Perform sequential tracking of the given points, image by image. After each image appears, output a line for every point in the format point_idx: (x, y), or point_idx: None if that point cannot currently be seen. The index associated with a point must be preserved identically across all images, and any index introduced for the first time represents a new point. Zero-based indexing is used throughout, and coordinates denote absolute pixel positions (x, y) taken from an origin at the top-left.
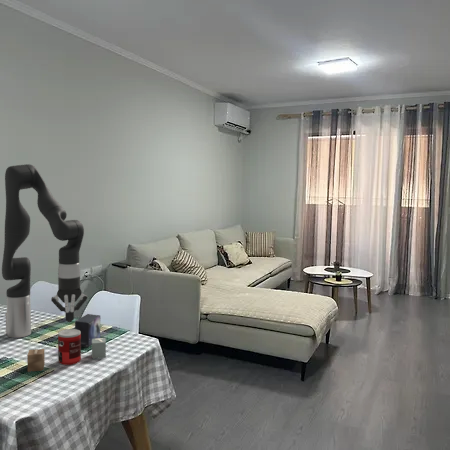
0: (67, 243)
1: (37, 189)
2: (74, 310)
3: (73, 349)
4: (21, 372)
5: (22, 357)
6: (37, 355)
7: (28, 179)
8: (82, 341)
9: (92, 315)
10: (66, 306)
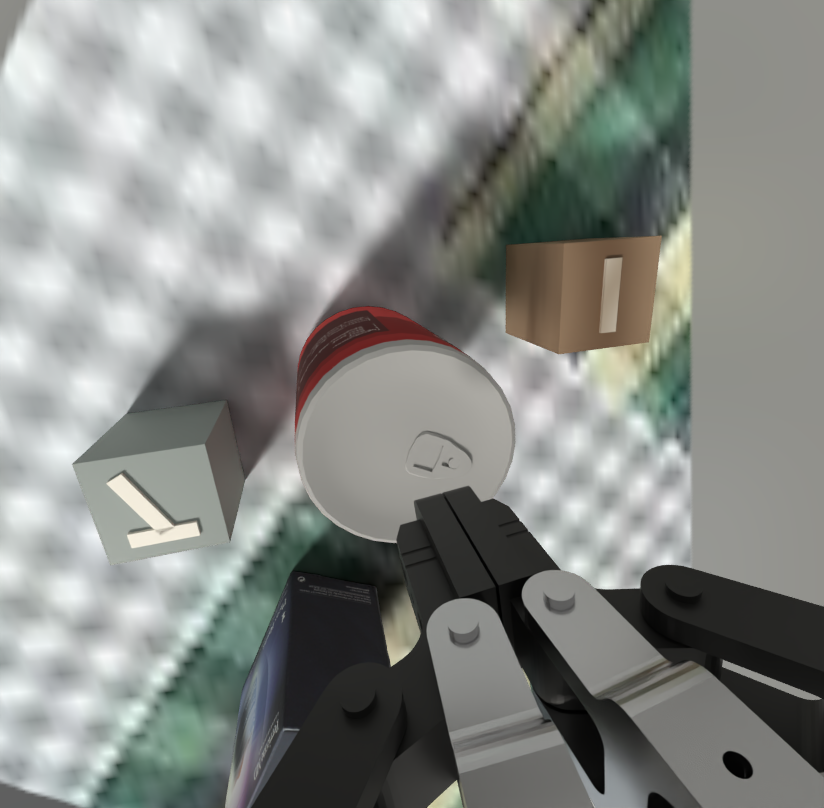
0: None
1: None
2: (417, 658)
3: (342, 328)
4: (614, 234)
5: (618, 442)
6: (593, 241)
7: None
8: (330, 601)
9: None
10: (653, 675)
